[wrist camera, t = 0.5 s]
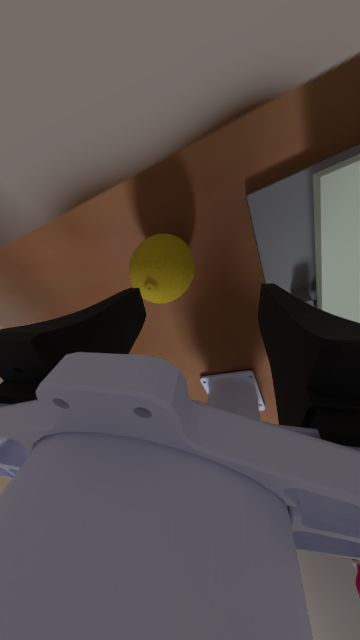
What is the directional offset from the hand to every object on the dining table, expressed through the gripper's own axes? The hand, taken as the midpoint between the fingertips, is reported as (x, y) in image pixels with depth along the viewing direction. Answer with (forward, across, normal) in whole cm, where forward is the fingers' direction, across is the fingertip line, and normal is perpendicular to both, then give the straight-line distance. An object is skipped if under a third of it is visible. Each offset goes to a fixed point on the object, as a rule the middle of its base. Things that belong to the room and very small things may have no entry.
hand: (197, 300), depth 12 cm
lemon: (+10, +4, 0) cm, 11 cm away
